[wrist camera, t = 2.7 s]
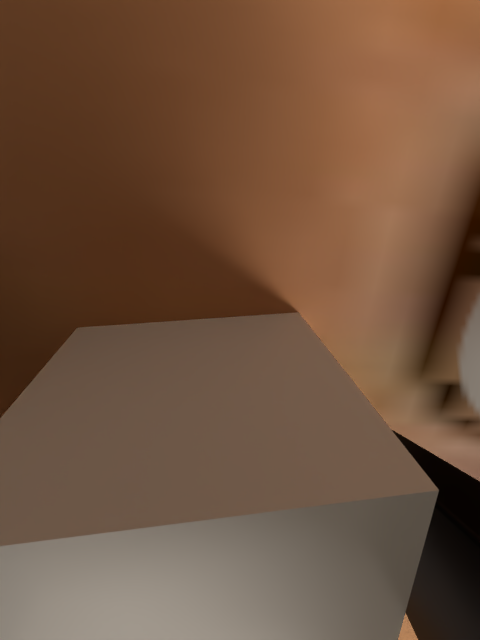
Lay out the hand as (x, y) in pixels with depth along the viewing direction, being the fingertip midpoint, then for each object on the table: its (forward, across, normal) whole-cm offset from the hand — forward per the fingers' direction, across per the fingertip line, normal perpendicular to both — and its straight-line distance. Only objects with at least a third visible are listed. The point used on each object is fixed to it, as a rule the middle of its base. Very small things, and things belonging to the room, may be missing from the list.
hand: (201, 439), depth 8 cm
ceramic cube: (+1, 0, 0) cm, 1 cm away
